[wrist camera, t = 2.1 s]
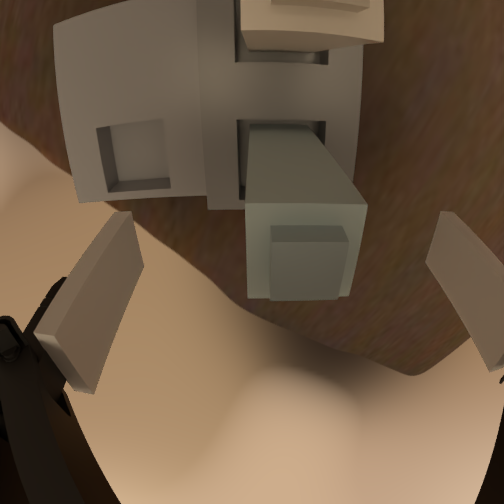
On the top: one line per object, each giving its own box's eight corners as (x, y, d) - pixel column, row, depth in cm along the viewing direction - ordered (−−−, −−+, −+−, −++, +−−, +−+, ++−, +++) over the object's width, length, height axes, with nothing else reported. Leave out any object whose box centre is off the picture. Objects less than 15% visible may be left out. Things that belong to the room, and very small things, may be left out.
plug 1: (248, -1, 15) (237, -96, 3) (308, 1, 15) (391, -77, 3) (248, 51, 17) (238, 25, 6) (308, 53, 17) (398, 40, 6)
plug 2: (250, 124, 20) (244, 218, 9) (307, 124, 20) (378, 219, 9) (251, 176, 23) (247, 317, 11) (304, 176, 23) (354, 313, 11)
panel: (71, 26, 17) (34, 24, 12) (340, -1, 17) (362, -15, 12) (93, 189, 26) (65, 216, 22) (332, 181, 26) (349, 209, 21)
